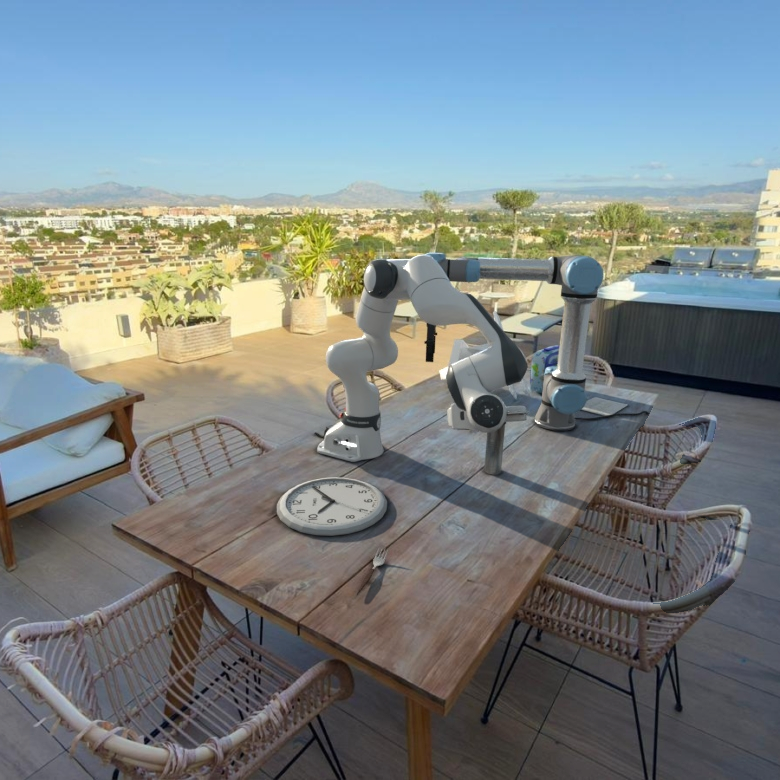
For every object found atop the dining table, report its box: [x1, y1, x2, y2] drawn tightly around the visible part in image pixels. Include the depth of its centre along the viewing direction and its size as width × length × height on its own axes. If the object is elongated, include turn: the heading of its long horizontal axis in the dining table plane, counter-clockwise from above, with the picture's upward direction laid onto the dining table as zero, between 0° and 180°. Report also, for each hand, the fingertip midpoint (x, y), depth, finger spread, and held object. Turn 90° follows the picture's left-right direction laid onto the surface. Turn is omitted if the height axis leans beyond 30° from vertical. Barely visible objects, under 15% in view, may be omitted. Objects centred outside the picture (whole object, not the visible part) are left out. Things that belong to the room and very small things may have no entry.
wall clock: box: [276, 476, 388, 537], centre depth 142 cm, size 30×2×30 cm
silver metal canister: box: [483, 424, 506, 476], centre depth 162 cm, size 5×5×18 cm
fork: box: [356, 545, 389, 596], centre depth 114 cm, size 3×16×2 cm, turn 160°
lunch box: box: [529, 345, 560, 394], centre depth 245 cm, size 26×11×21 cm, turn 134°
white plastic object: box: [438, 310, 531, 400], centre depth 245 cm, size 37×45×31 cm
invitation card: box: [580, 396, 629, 416], centre depth 226 cm, size 21×1×15 cm
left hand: (486, 416), depth 141 cm, fingers open, 8 cm apart
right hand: (430, 357), depth 190 cm, fingers open, 13 cm apart
